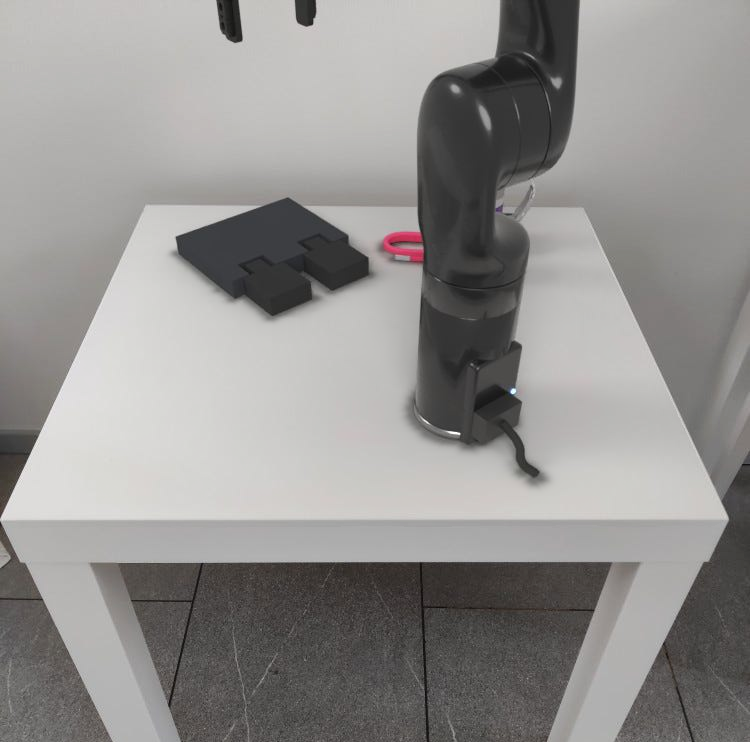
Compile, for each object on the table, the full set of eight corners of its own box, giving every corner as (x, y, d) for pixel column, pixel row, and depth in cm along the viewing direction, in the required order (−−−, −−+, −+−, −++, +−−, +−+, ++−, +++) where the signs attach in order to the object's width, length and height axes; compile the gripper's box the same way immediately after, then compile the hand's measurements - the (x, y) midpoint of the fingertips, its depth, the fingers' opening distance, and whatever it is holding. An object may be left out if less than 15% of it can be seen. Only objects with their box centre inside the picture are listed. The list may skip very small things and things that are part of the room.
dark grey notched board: (349, 252, 102) (348, 235, 101) (234, 298, 95) (231, 281, 93) (289, 213, 110) (288, 196, 108) (178, 253, 102) (175, 236, 100)
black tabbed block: (368, 275, 99) (368, 257, 97) (331, 291, 96) (331, 273, 94) (329, 249, 103) (329, 231, 101) (293, 263, 100) (291, 246, 99)
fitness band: (379, 259, 101) (380, 248, 100) (386, 237, 105) (386, 227, 104) (440, 264, 100) (441, 253, 99) (444, 242, 104) (445, 231, 103)
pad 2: (312, 299, 95) (311, 281, 93) (272, 316, 92) (270, 298, 90) (274, 271, 99) (272, 253, 97) (234, 287, 97) (232, 269, 95)
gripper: (201, -171, 60) (229, 57, 72) (345, -184, 66) (349, 28, 78) (156, -180, 64) (189, 37, 76) (295, -192, 70) (306, 11, 82)
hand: (270, 32), depth 77 cm, fingers open, 8 cm apart
